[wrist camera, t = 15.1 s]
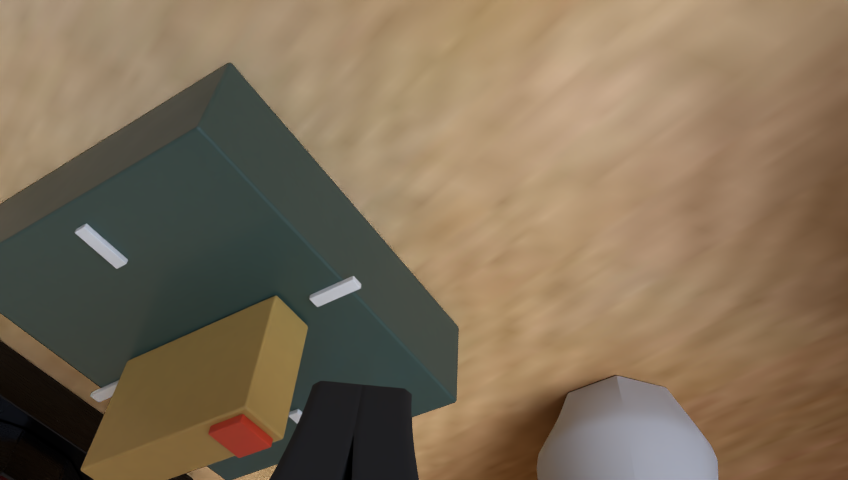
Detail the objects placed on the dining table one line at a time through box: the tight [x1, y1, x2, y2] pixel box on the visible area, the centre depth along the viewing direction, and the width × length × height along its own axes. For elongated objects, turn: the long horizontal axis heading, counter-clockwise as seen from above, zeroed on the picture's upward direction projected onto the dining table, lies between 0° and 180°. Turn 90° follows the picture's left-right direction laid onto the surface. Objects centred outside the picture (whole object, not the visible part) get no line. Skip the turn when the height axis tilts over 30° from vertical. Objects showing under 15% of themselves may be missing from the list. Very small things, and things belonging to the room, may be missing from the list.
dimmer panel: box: [0, 63, 459, 480], centre depth 23 cm, size 11×10×3 cm
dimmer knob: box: [81, 296, 308, 480], centre depth 20 cm, size 6×1×4 cm, turn 122°
